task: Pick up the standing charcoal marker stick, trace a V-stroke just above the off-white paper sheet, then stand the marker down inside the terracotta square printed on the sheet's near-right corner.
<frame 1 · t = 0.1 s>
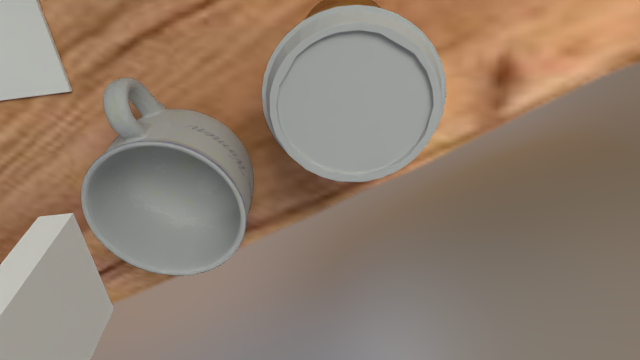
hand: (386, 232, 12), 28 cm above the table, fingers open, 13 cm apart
disposable coffee cup: (346, 39, 38), on the table
teacup: (185, 139, 42), on the table
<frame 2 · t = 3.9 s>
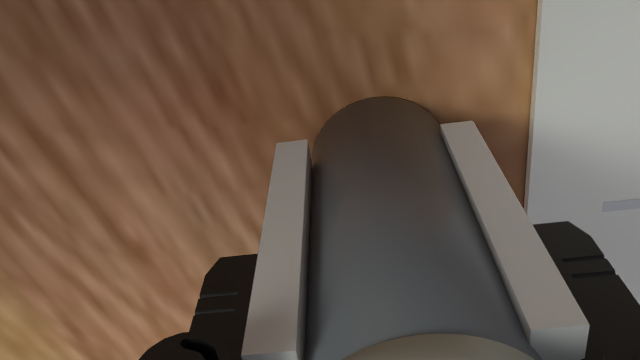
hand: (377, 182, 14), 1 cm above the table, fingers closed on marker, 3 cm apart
marker: (380, 160, 14), on the table, touching gripper
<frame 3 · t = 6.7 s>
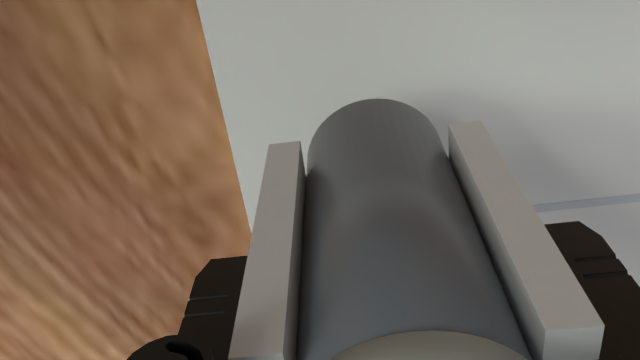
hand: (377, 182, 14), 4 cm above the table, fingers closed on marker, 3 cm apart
marker: (374, 162, 15), point 3 cm above the table, touching gripper
paper: (545, 226, 19), on the table
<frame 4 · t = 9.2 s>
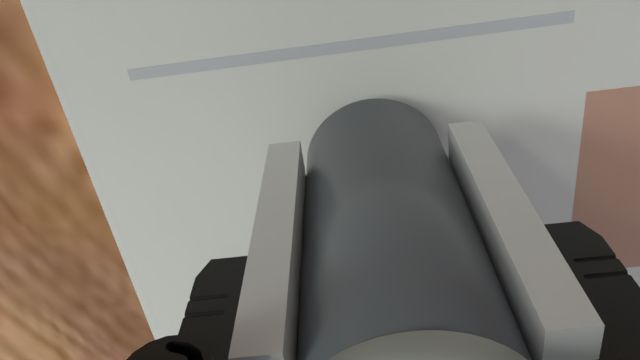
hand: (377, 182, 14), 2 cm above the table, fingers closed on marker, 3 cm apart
marker: (374, 161, 15), point 1 cm above the table, touching gripper
paper: (445, 68, 14), on the table
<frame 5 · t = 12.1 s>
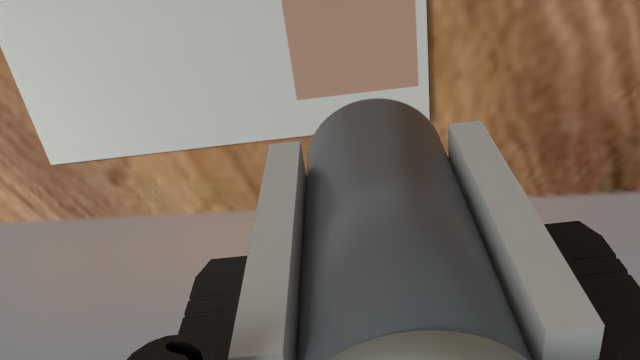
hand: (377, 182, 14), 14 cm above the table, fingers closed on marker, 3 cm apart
marker: (374, 161, 15), point 13 cm above the table, touching gripper
when the fingers open (2 cm above the table, at t = 14.5 s): marker stays where it is, resting on paper.
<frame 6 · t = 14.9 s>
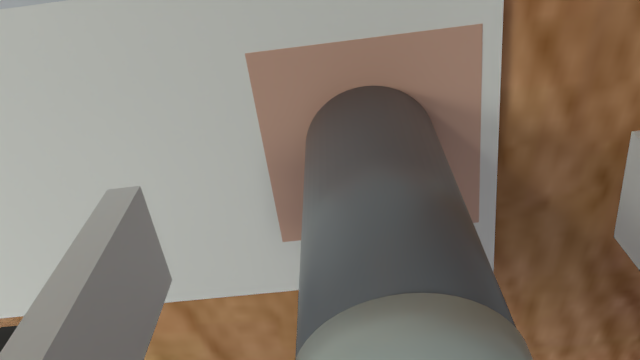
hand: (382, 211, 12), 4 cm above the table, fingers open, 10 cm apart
marker: (370, 146, 15), resting on paper
paper: (104, 28, 14), on the table
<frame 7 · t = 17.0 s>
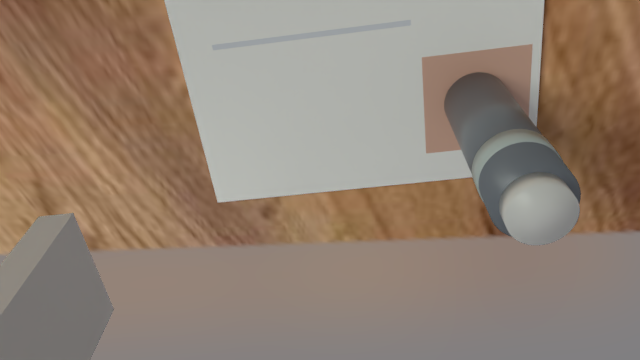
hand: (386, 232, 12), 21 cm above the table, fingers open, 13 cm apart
marker: (475, 102, 32), resting on paper
paper: (357, 46, 31), on the table
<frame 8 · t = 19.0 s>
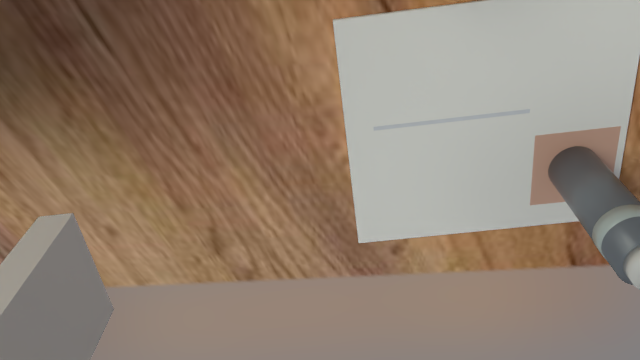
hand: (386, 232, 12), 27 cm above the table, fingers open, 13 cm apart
marker: (572, 167, 41), resting on paper
paper: (485, 126, 40), on the table
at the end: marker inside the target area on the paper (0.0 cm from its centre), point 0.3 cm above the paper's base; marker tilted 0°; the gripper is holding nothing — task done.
